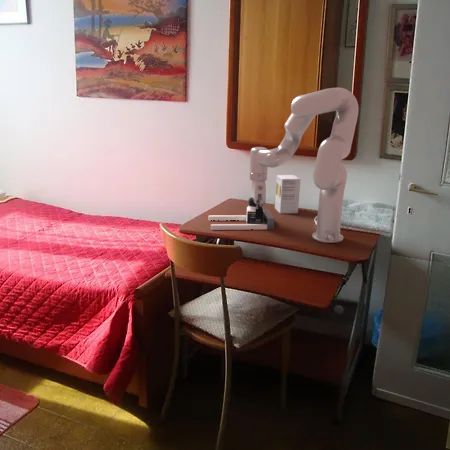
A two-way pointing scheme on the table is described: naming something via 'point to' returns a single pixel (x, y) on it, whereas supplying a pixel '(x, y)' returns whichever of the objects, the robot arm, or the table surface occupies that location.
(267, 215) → the end stop
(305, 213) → the table surface
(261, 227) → the guide rails
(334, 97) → the robot arm
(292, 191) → the supplement box
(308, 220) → the table surface
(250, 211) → the medicine bottle
